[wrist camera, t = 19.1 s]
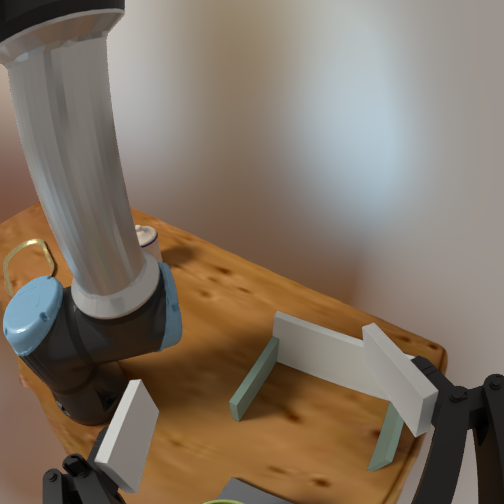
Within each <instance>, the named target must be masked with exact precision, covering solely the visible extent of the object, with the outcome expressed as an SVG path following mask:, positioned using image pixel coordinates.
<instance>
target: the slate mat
mask: <svg viewBox="0 0 504 504" xmlns="http://www.w3.org/2000/svg"><path fill="white" fill-rule="evenodd" d="M216 500H233V501H238V502H241V503H244V504H294V503H291V502H288V501H286V500H283V499H280V498H278V497H275V496H273V495H270V494H268V493H265V492H263V491H261V490H258V489H256V488H254V487H252V486H250V485H247V484H245V483H243V482H241V481H239V480H237V479H235V478H233V477H232V478H231V479H230V481H229V482H228V484H227V485H226V486H225V488H224V489H223V491H222V492H221V493H220V495H219V496H218V497H217V499H216Z"/></svg>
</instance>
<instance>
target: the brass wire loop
mask: <svg viewBox="0 0 504 504" xmlns="http://www.w3.org/2000/svg"><path fill="white" fill-rule="evenodd" d="M32 244H39V245H41V247H42V249H43V251H44V254H45V256H46V258H47V260H48V263H49V265H50V267H51V274H50V276H51V277H52V275H53V272H54V262H53V260H52V258H51V256H50V254H49V252H48V250H47V248H46V245H45V243H44V241H43V240H41V239H32V240H29V241H26V242H24V243H22V244H20V245H19V246H17V247H16V248H14V249H13V250H12V251H11V252H10V253H9V254H8V255H7V257H6V258H5V260H4V262H3V271H4V278H5V285H6V291H7V294H8V295H9V296H10V297H12V298H13V297H14V296H15V295H14V294H13V293H12V290H11V285H10V279H9V273H8V262H9V260H10V259H11V257H12V256H13V255H14V254H15V253H16V252H18V251H19V250H20V249H22V248H24V247H26V246H28V245H32Z"/></svg>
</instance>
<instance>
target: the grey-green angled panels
mask: <svg viewBox="0 0 504 504" xmlns="http://www.w3.org/2000/svg"><path fill="white" fill-rule="evenodd" d="M405 355H406V356H407V357H408V358H409V359H410V360H411V359H413V358H415V357H414V356H410V355H407V354H405ZM276 362H279V363H282V364H284V365H287V366H289V367H292V368H295V369H297V370H300V371H302V372H305V373H308V374H310V375H313V376H316V377H318V378H321V379H324V380H327V381H329V382H332V383H335V384H338V385H341V386H344V387H347V388H350V389H353V390H356V391H359V392H362V393H365V394H368V395H372V396H375V397H378V398H381V399H385V400H388V401H390V400H389V398H388V397H387V395H386V394H385V392H384V391H383V389H382V388H381V386H380V385H379V384H378V382H377V381H376V379H375V378H374V376H373V375H372V374H371V372H370V371H369V369H368V368H367V366H366V365H365V359H364V344H363V340H360V339H356V338H353V337H350V336H347V335H345V334H342V333H339V332H336V331H333V330H330V329H327V328H324V327H321V326H318V325H316V324H313V323H310V322H307V321H304V320H301V319H299V318H296V317H293V316H290V315H288V314H285V313H282V312H280V311H277V312H276V314H275V315H274V325H273V336H272V338H271V339H270V341H269V343H268V344H267V346H266V347H265V349H264V350H263V352H262V353H261V355H260V357H259V358H258V360H257V361H256V363H255V364H254V366H253V367H252V369H251V370H250V372H249V373H248V375H247V376H246V378H245V379H244V381H243V382H242V384H241V385H240V387H239V388H238V390H237V391H236V392H235V394H234V395H233V397H232V398H231V400H230V401H229V404H230V409H231V414H232V419H234V420H236V421H238V422H239V421H240V419H241V418H242V416H243V415H244V413H245V412H246V410H247V409H248V407H249V406H250V404H251V402H252V401H253V399H254V398H255V396H256V395H257V393H258V391H259V390H260V388H261V387H262V385H263V383H264V382H265V380H266V379H267V377H268V375H269V374H270V372H271V370H272V369H273V367H274V365H275V364H276ZM403 423H404V420H403V419H402V417H401V416H400V414H399V413H398V411H397V410H396V408H395V407H394V405H393V404H392V402H391V401H390V402H389V406H388V409H387V413H386V416H385V420H384V423H383V426H382V429H381V432H380V436H379V439H378V442H377V444H376V447H375V450H374V453H373V456H372V458H371V461H370V464H369V466H368V469H367V470H370V471H376V470H378V469H380V468H382V467H384V466H385V465H387V464H389V463H391V462H392V461H393V458H394V454H395V451H396V448H397V445H398V441H399V438H400V434H401V431H402V427H403Z"/></svg>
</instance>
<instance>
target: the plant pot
mask: <svg viewBox="0 0 504 504" xmlns="http://www.w3.org/2000/svg"><path fill="white" fill-rule="evenodd" d="M203 504H244V503H241V502H238V501H233V500H213V501H209V502H206V503H203Z"/></svg>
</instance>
